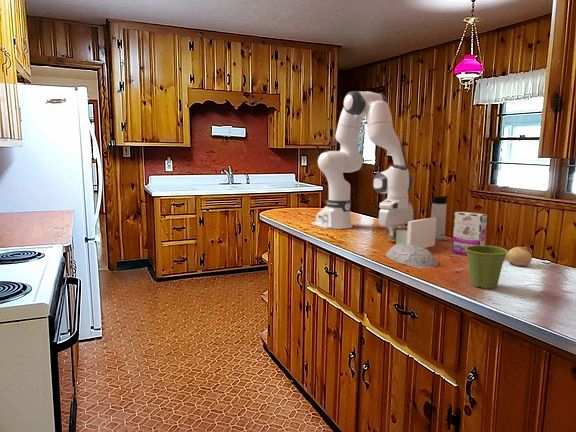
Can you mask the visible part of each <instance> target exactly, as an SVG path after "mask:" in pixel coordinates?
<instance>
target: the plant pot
mask: <svg viewBox="0 0 576 432" xmlns="http://www.w3.org/2000/svg"><path fill="white" fill-rule="evenodd" d="M465 250H467V256H466V257H467V259H468V268H469V277H470V284H471V286H473V287H475V288H479V287H480V288H482V289H484V290H488V289H489V290H491V289H492V290H493V289H496V288H497V287H498V286H499V285H498V283H499V282H500V280H499V279H500V277H501V271H502V269H503V265H504V261H505V260H506V256H507V253H508V251H509V250H508V249H506V248H503V247H499V246H493V245H485V246H484V245H473V246H467V247H465Z"/></svg>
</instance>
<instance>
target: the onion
mask: <svg viewBox="0 0 576 432" xmlns="http://www.w3.org/2000/svg"><path fill="white" fill-rule="evenodd" d="M505 258H506V260H507V262H508V263H509V264H510V265H511V266H512V265H515V266H518V267H527V266H528V265H530V264H531V262H532V261H533V259H532V258H533V257H532V255H531V252H530V251H529V250H528V246H525V247H523V246H519V247H518V246H515V247H513V248H511V249H509V250H508V253H507V254H506V256H505Z"/></svg>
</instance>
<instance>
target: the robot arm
mask: <svg viewBox="0 0 576 432" xmlns="http://www.w3.org/2000/svg"><path fill="white" fill-rule="evenodd" d="M388 103H389V101H388V98H387V97H386V96H385V95H384V94H382V93H379V92H373V91H368V90H367V91H357V90H352V91H348V92H347V93H346V94H345V96H344V98H343V101H342V104H343V107H342V110H341V112H340V115H339V119H338V123H337V128H336V132H335V140H336V142H338V143H339V144H340V145H339V147H340V149H339V150H328V151H324V152H322V153H321V154H320V155H319V156H318V158H317V166H318V169H319V170H320V171H321V172H322V173H323V174H324V176H325V178H326V180H327V186H328V199H326V200H325V201H324V203H325V206H324V207H323V208H322V209H320V211H318V212H317V213H316V216H315V221H312V222H311V223H310V224H311V225H313V226H316V227H320V228H323V229H327V230H328V229H334V230H335V229H337V230H338V229H351V228H353V224H352V217H351V207H352V200H351V184H350V183H349V181H347V180H346V179H345V177H344V173H346V174H347V173H355V172H356V171H359V170H361V168H362V166H363V157H362V155H361V154H360V153H359V149H358V139H359V135H360V130H361V127H362V122H363V119H364V117H366V123H367V125H366V126H367V134H368V138H369V140H370V141H371V142H372V143H373V144H374V145H375V146H378V147H380V148H382V149H384V150H386V151H387V152H388V153H389V154H390V155H391V158H392V161H393V162H392V163H393V164H392V165H390V166H389V167H388V168H387V169H385V170H383V171H381V172H377V173H376V174H375V175H374V177H373V179H372V187H373V189H374V191H375V192H376V193H377V194H381V195H382V194H383V195H384V194H385V195H386V194H387V197H386V198H385V199H384V200H383V201H381V202H379V205H378V208H380V209H379V211H378V225H379V226H380V227H382V228H384V227H385V228H386V227H388V229H389V231H390V236H394V235H395V231H394V229H393V228H394V227H395V226H397V227H399V228H405V225H406V224H408V221H414V208H413V204H412V203H411V202H410V201H409V191H410V190H411V189H412V187H413V184H414V183H413V182H414V181H413V177H412V175H411V173H410V170H409V168H408V162H407V159H406V154H405V150H404V146H403V143H402V140H401V138H399V137H398V136H397V133H396V131H395V129H394V126H393V118H392V112H391V109H390V106H389V104H388Z"/></svg>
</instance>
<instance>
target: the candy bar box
mask: <svg viewBox="0 0 576 432" xmlns="http://www.w3.org/2000/svg"><path fill="white" fill-rule="evenodd" d="M453 215H454V217H453V232H452V233H453V235H452V247H451V253H452V254H456V255H462V256H466V257H467V250H465V247H467V246H473V245H484V246H486V241H487V240H486V238H487V237H486V236H487V224H488V214H485V213H479V212H478V213H477V212H467V211H456V212H454V214H453Z"/></svg>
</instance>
